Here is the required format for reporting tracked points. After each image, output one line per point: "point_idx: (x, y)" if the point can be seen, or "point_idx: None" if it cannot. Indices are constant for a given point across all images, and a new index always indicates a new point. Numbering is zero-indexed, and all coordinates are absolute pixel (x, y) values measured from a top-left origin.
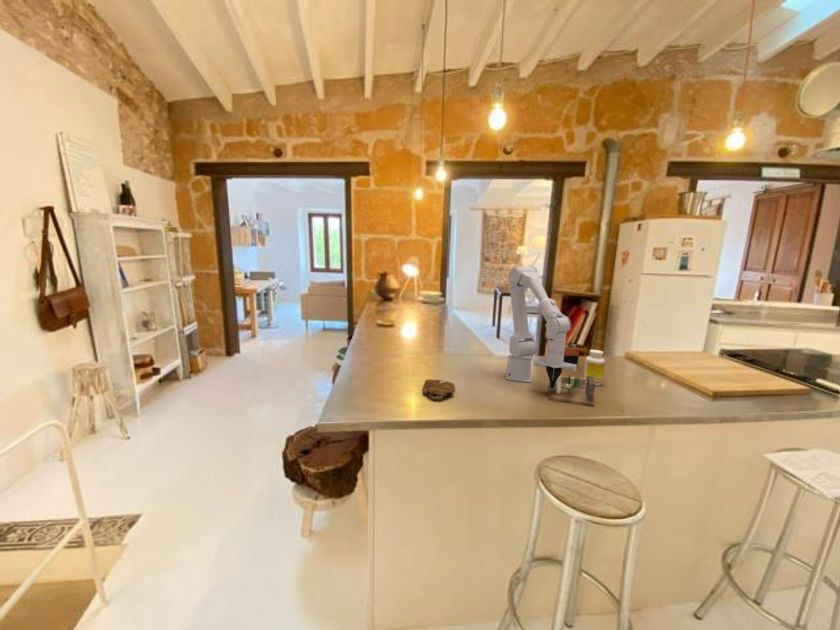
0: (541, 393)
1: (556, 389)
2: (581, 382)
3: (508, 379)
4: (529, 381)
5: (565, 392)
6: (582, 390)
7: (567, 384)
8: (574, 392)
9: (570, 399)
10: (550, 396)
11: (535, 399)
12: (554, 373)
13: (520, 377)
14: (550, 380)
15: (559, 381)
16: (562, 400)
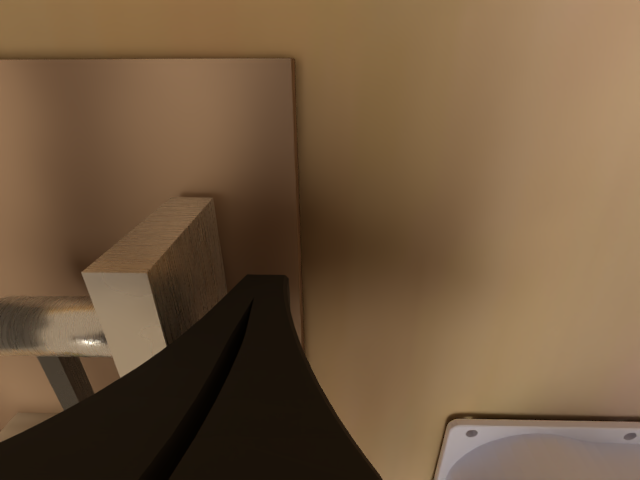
0: (373, 235)
1: (214, 267)
2: None
3: (637, 423)
4: (462, 427)
5: None
6: (19, 377)
7: (58, 342)
8: None
9: (37, 97)
10: (279, 101)
11: (465, 13)
12: (147, 455)
13: (552, 456)
14: (279, 330)
15: (129, 330)
16: (132, 59)
